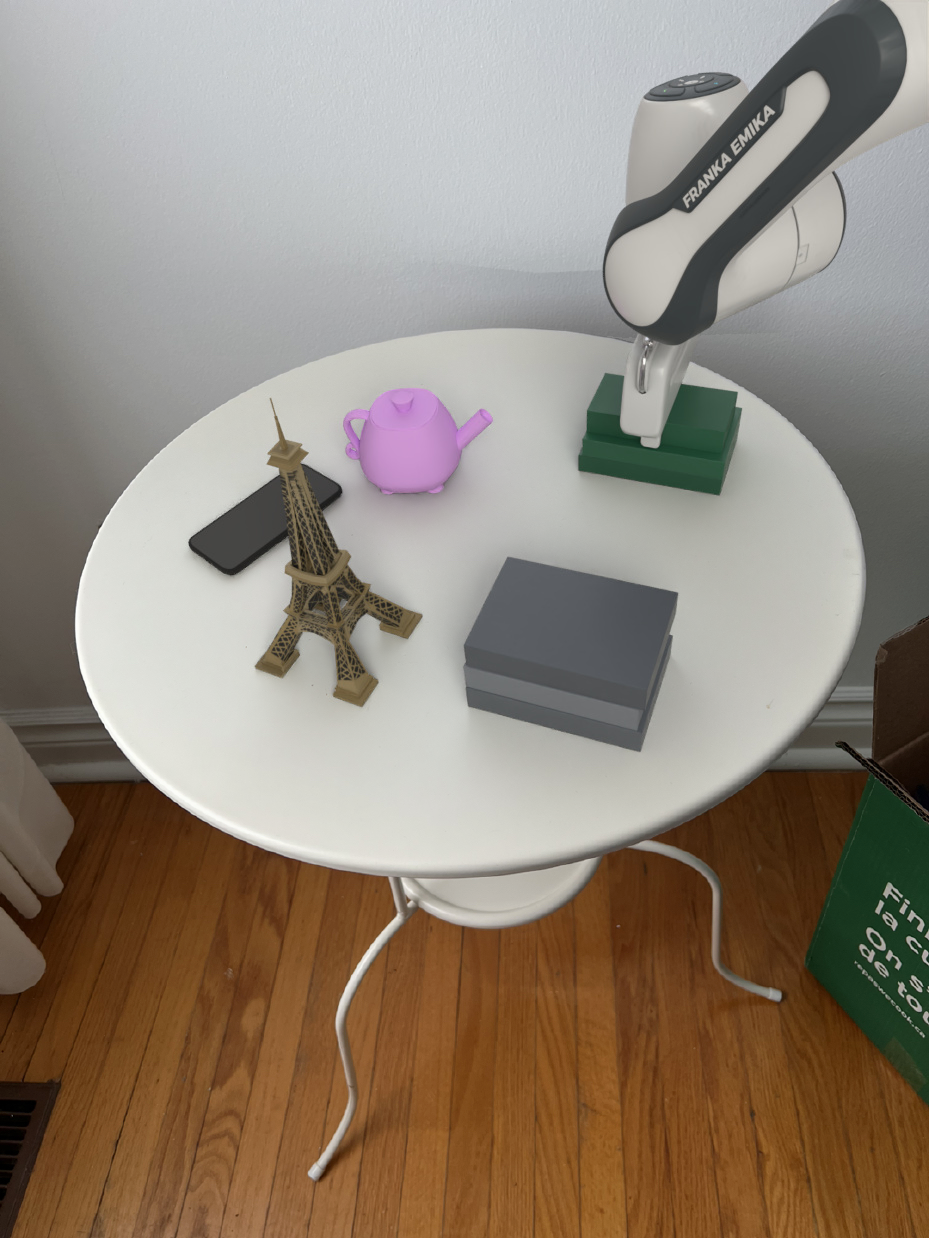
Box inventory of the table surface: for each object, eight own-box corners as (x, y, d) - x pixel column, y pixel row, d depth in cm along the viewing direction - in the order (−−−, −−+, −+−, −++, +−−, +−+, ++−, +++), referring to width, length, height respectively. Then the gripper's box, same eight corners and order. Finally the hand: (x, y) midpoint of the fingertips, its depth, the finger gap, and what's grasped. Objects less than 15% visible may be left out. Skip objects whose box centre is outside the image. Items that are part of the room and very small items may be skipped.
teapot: (357, 443, 98) (341, 367, 91) (498, 439, 96) (493, 361, 89) (343, 508, 91) (324, 431, 84) (494, 505, 89) (488, 426, 82)
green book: (734, 413, 89) (738, 391, 87) (721, 454, 85) (724, 432, 84) (604, 394, 93) (605, 372, 91) (586, 432, 89) (586, 410, 87)
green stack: (737, 439, 93) (742, 406, 90) (719, 495, 88) (725, 462, 85) (602, 418, 97) (603, 386, 94) (577, 470, 92) (578, 438, 89)
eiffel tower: (422, 616, 80) (378, 369, 62) (362, 707, 74) (293, 463, 56) (321, 584, 84) (250, 342, 65) (255, 668, 78) (157, 427, 59)
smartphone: (182, 541, 88) (298, 459, 95) (185, 548, 89) (300, 466, 96) (228, 574, 85) (346, 487, 91) (231, 581, 85) (348, 494, 92)
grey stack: (670, 654, 75) (678, 591, 70) (640, 752, 69) (646, 692, 64) (509, 617, 80) (505, 555, 74) (467, 706, 74) (459, 646, 68)
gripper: (683, 355, 72) (669, 491, 82) (732, 233, 84) (714, 365, 94) (604, 345, 73) (600, 479, 84) (663, 227, 86) (653, 357, 96)
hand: (661, 418), depth 89 cm, fingers closed on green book, 6 cm apart
